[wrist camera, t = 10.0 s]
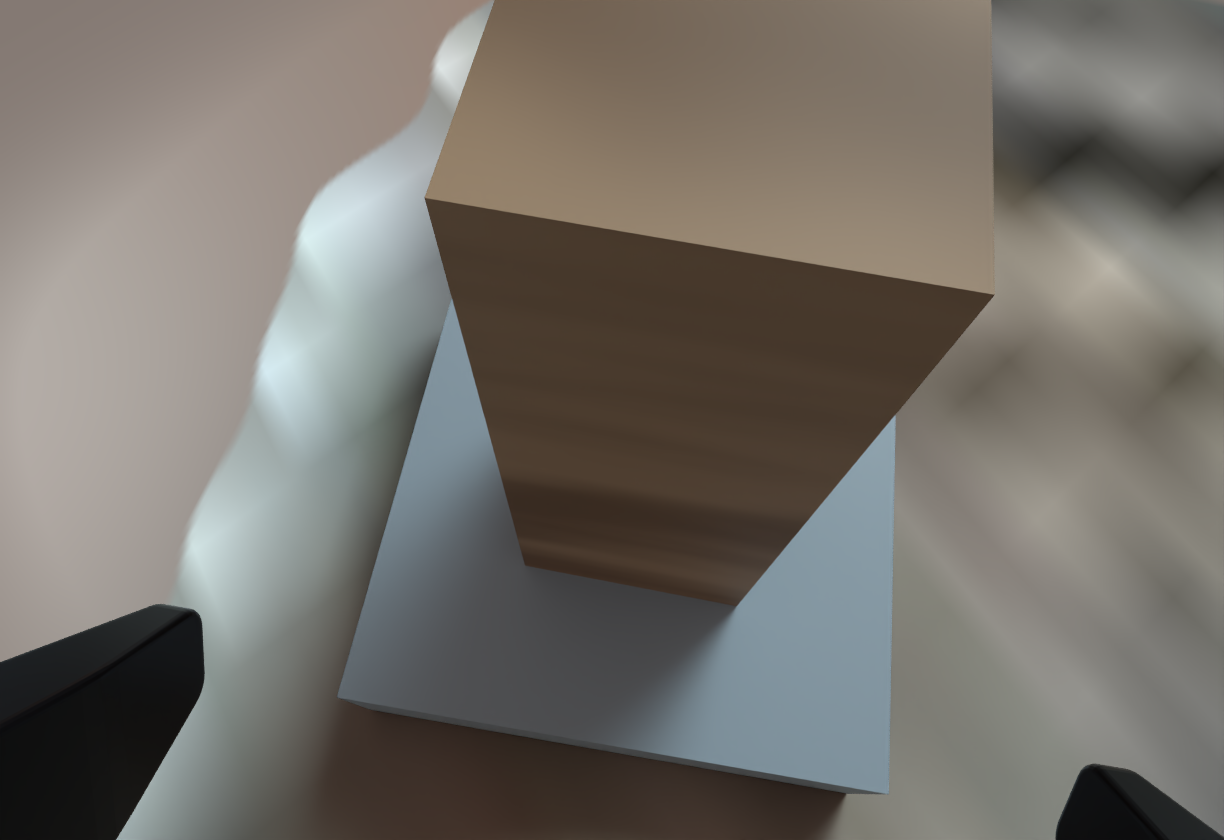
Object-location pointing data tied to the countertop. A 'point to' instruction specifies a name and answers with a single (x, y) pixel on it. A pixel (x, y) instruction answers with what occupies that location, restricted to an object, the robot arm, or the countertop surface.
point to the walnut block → (708, 261)
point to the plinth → (627, 624)
